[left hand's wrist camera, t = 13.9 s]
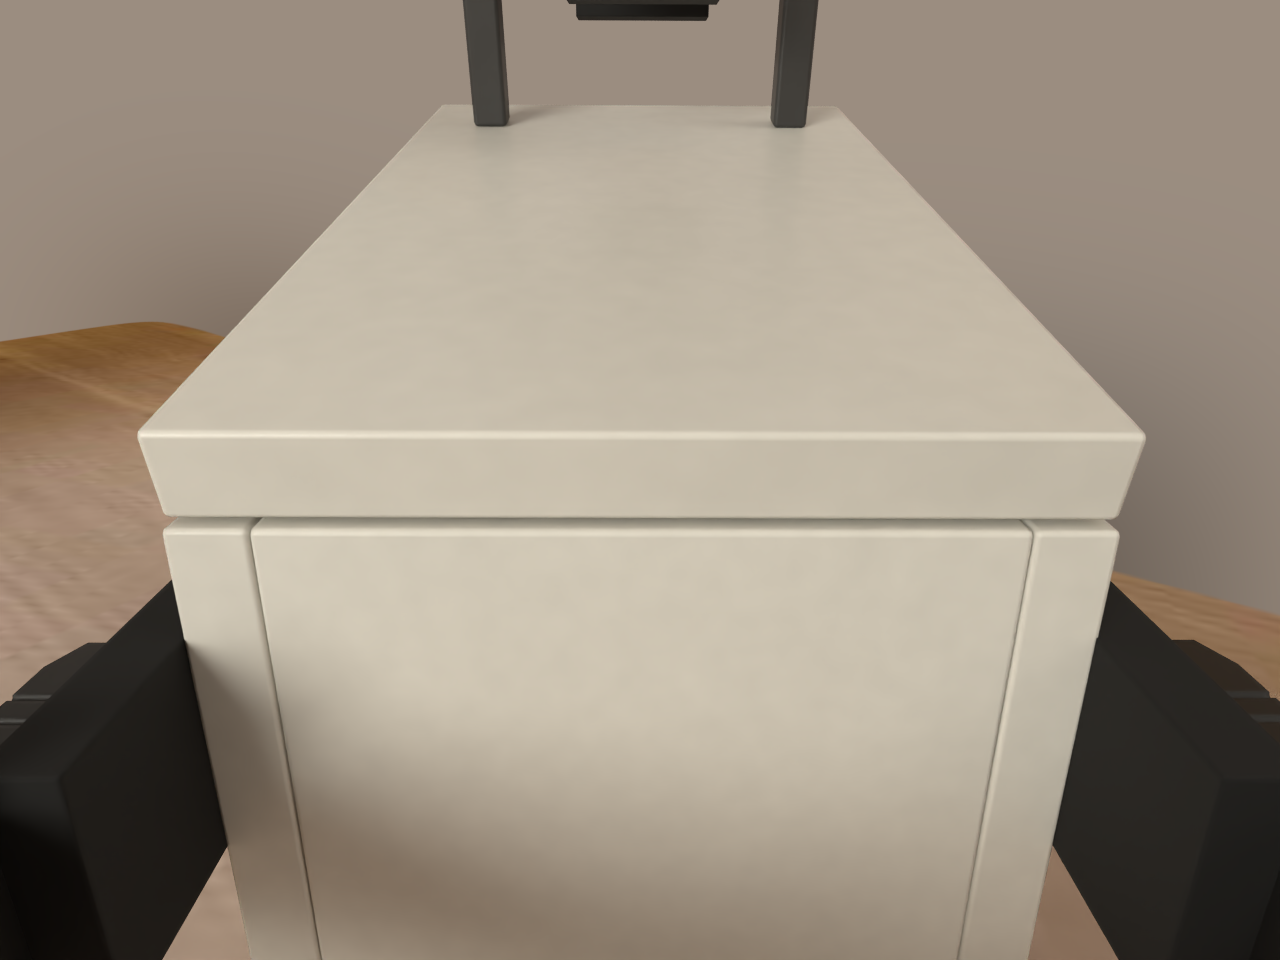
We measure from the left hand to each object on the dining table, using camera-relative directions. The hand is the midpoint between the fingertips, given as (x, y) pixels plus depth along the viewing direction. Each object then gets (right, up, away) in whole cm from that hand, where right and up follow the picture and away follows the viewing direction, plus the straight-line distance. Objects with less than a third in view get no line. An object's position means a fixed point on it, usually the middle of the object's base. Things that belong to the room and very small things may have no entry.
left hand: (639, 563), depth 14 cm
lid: (0, +5, +2) cm, 5 cm away
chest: (0, -5, +5) cm, 7 cm away
